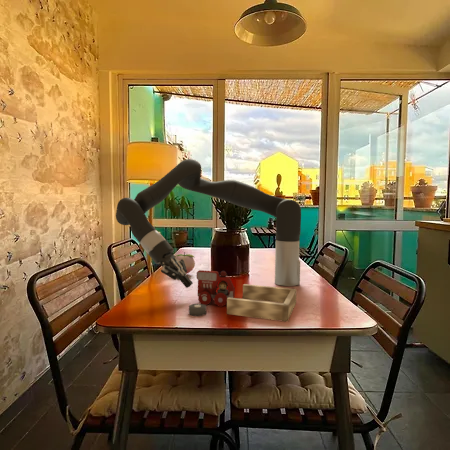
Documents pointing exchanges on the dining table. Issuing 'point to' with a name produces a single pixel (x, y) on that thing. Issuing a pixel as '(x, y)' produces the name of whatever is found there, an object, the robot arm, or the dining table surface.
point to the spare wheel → (197, 309)
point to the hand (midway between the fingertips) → (189, 285)
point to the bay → (263, 302)
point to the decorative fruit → (187, 261)
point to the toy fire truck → (214, 287)
